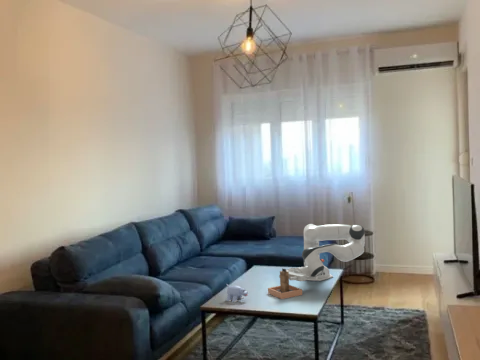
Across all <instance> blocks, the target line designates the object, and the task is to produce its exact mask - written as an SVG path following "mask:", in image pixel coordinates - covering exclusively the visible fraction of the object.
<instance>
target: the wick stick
mask: <svg viewBox="0 0 480 360" xmlns="http://www.w3.org/2000/svg"><path fill="white" fill-rule="evenodd" d="M279 275H280V278H279V286H280V291H282V292H287V291H289V285H290V280H289V271H286V268H282V270H280V271H279Z"/></svg>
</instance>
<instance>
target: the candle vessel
mask: <svg viewBox="0 0 480 360" xmlns="http://www.w3.org/2000/svg"><path fill="white" fill-rule="evenodd" d="M267 294H268V295H270V296H274V297H276V298H278V299H281V300H284V299H289V298H293V297H298V296H303V289H302V288H300V287H296V286H294V285H291V284H289V291H287V292H282V291H280V285H277V286H271V287H268V288H267Z"/></svg>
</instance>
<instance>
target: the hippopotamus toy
mask: <svg viewBox="0 0 480 360" xmlns="http://www.w3.org/2000/svg"><path fill="white" fill-rule="evenodd" d="M226 286H227V290H226V295H227V296H226V300H225V301H227V302H232V303H237V302H238V301H239V300H238V299H240V300H243V299H244V297H247V296H249V295H248V294H249V292H248V291H247V290H246V288H245V287H241V286H240V285H229V284H227V283H226Z"/></svg>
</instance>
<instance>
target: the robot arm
mask: <svg viewBox="0 0 480 360" xmlns="http://www.w3.org/2000/svg"><path fill="white" fill-rule="evenodd" d="M365 236H366V231H365V228H364V226H362V225H360V224H352V225H350V224H343V223H342V224H338V223H337V224H324V225H315V223H314V224H313V223H309V224H307V225H305V226H304V228H303V250H302V253H301V258H302V259H303V266H301V267H300V266H299V267H289V268H288V269H286V268H285V269H286V271H289V281H296V282H305V281H318V282H319V281H320V282H321V281H324V280H328V279H331V278H334V276H333V274H331V273H330V270H329V269H330V268H328V267H327V266H325V265H324V262H325V259H323V258H320V254H324V253H330V254H331V255H333V256H334V257H335V258H336V259H337V260H339V261H341V262H344V263H345V262H351V261H352V260H355V259H356V258H358V257H359V256H362V255H363V254H364V252H365V247H366V237H365ZM338 240H339V241H340V240H345V241H347V243H346V244H343V245H341V244H337V243H329V244H324V245H320V242H322V241H338ZM278 277H279V279H280V274H279V276H278Z"/></svg>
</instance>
